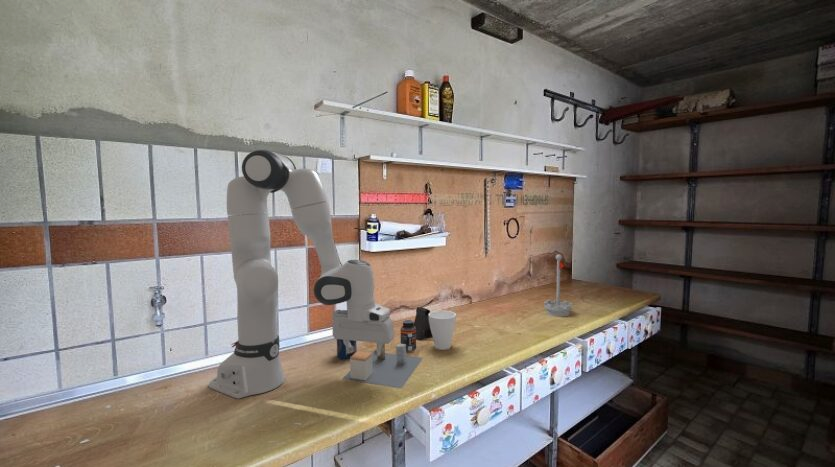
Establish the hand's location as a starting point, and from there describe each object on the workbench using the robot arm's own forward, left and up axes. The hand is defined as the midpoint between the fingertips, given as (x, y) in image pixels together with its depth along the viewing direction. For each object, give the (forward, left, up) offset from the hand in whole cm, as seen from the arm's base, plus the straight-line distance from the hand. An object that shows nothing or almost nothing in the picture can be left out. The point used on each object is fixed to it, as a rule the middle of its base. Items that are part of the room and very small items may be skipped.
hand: (363, 353), depth 112 cm
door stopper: (+7, +41, -8) cm, 42 cm away
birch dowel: (0, +13, -7) cm, 15 cm away
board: (+4, +7, -8) cm, 11 cm away
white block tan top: (-1, 0, -7) cm, 7 cm away
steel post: (+8, +12, -7) cm, 16 cm away
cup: (+18, +30, -8) cm, 36 cm away
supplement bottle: (+6, +25, -8) cm, 27 cm away
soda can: (-13, +12, -8) cm, 19 cm away
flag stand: (+63, +90, -8) cm, 110 cm away
